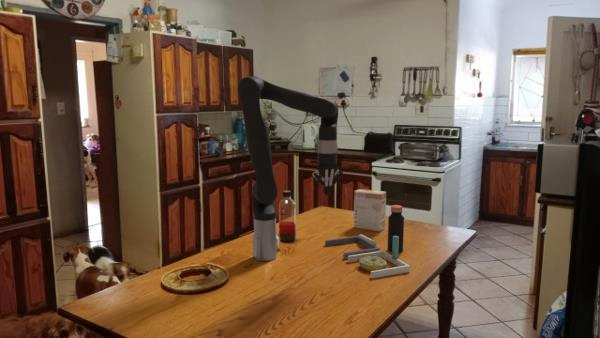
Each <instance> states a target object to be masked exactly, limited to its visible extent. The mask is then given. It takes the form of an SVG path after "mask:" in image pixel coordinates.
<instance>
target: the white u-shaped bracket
mask: <svg viewBox="0 0 600 338" xmlns="http://www.w3.org/2000/svg"><path fill="white" fill-rule="evenodd" d="M398 247H399V236H393V245H392V252H391V253H388V252H387V251H385V250H380V251H377V252H370V253H364V254H357V255H350V256H348V259H347V262H348V263H355V262H360V259H361V258H364V257H368V256H377V257H380V258H382V259H384V260H385V261H388V262H390V263H391V264H392V265H394V267H388V268H384V269H381V270H375V271H371V272H370V279H376V278H377V279H378V278H383V277H388V276H395V275H400V274H406V273H410V272H411V266H410V264H407V263H406V262H404V261H403V260H401V259H400V258H399V252H398Z"/></svg>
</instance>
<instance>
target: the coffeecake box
mask: <svg viewBox="0 0 600 338" xmlns="http://www.w3.org/2000/svg"><path fill="white" fill-rule="evenodd" d="M353 196H354V199H353V228H357V229H362V230H368V231H374V232H378V233H379V232H382V231H384V230H385V229H386V217H387V191H383V190H373V189H372V190H371V189H363V188H359V189H356V190H354V194H353Z"/></svg>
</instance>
